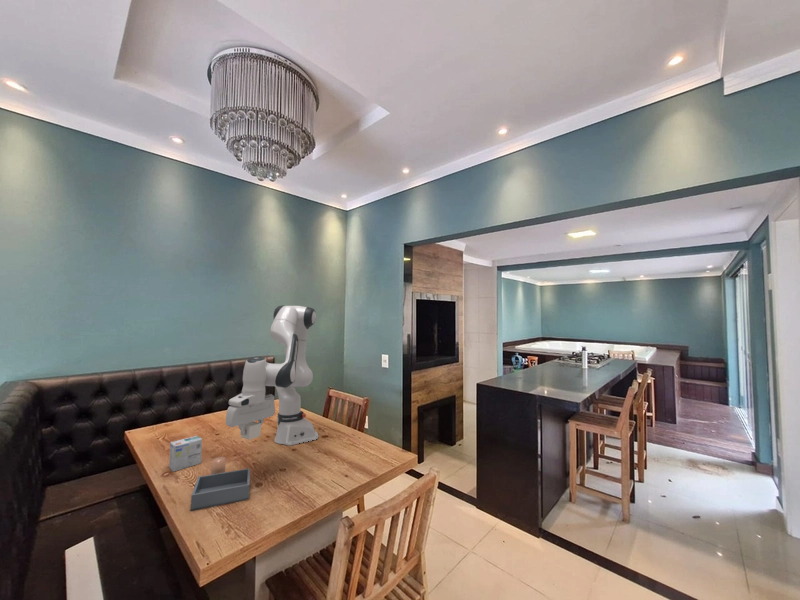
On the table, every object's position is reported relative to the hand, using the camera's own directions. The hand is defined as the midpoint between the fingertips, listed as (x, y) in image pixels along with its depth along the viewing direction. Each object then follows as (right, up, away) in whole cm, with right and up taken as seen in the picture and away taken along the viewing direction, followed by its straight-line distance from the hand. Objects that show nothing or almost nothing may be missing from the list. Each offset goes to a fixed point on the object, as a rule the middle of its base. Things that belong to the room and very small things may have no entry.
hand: (250, 432), depth 126 cm
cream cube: (0, -2, 0) cm, 2 cm away
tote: (-5, -18, -12) cm, 22 cm away
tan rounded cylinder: (-14, -18, +1) cm, 23 cm away
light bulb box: (-33, -19, +10) cm, 40 cm away
